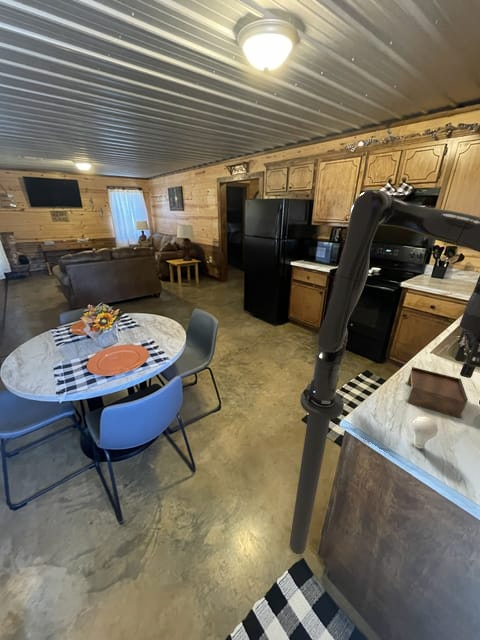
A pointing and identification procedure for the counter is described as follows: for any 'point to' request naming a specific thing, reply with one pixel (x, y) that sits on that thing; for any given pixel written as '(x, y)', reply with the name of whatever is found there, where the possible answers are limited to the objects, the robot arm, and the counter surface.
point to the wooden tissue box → (437, 392)
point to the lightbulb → (424, 430)
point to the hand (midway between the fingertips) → (462, 368)
